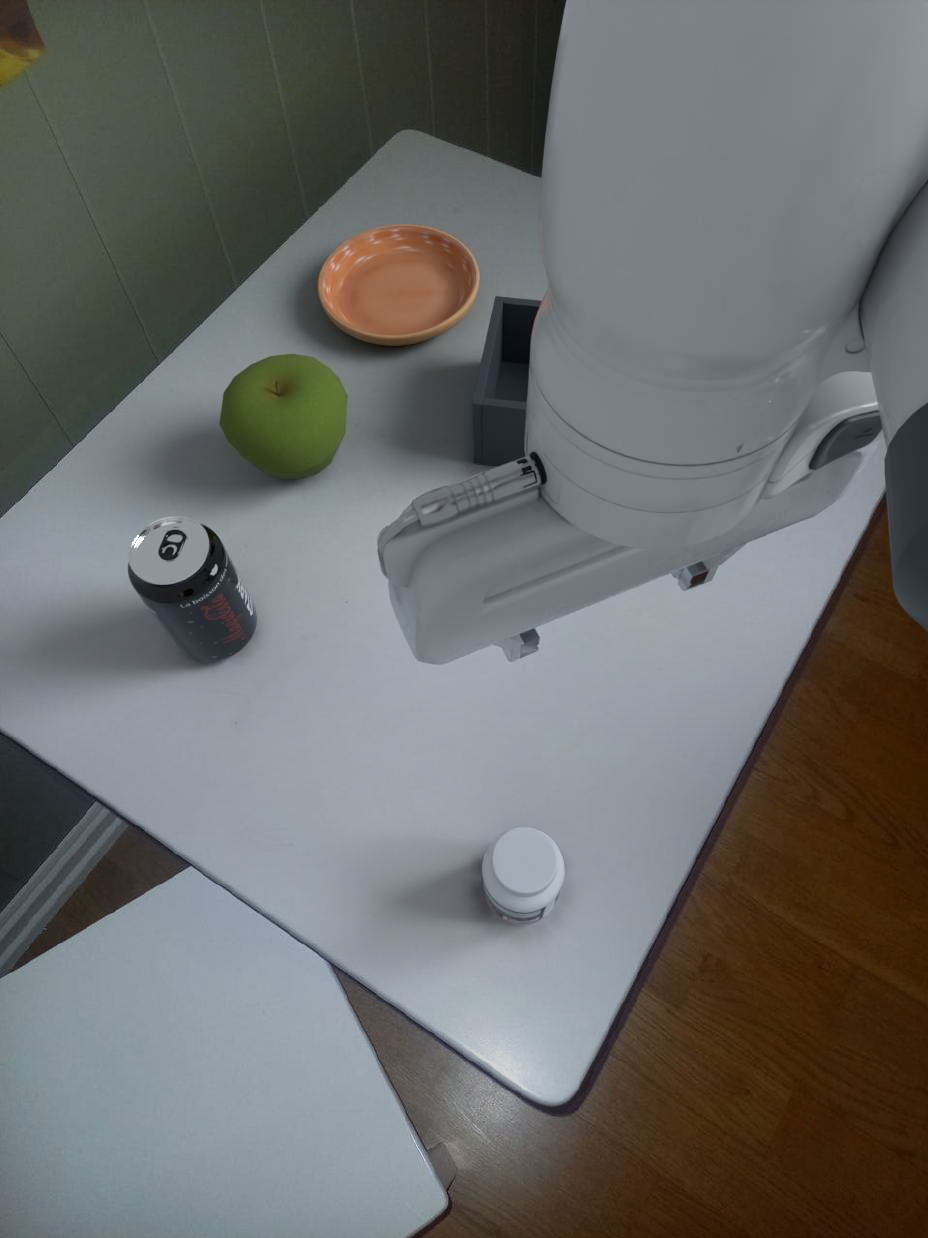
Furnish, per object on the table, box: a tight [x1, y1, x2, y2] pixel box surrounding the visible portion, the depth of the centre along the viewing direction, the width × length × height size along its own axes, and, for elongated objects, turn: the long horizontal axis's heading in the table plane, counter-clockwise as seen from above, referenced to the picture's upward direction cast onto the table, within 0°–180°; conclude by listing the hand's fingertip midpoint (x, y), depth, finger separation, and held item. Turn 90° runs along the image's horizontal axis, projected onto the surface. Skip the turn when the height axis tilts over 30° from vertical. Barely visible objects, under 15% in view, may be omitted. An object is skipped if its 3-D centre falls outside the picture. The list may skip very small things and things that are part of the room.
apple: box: [219, 353, 349, 480], centre depth 72 cm, size 11×10×10 cm
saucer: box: [317, 223, 480, 347], centre depth 84 cm, size 16×16×3 cm
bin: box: [471, 295, 542, 467], centre depth 75 cm, size 13×13×8 cm
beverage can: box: [127, 515, 258, 663], centre depth 63 cm, size 7×7×12 cm
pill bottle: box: [481, 826, 566, 926], centre depth 55 cm, size 5×5×9 cm
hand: (603, 609), depth 41 cm, fingers open, 8 cm apart
